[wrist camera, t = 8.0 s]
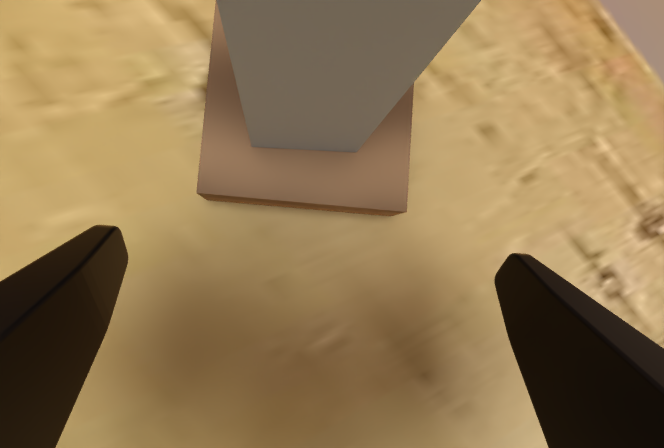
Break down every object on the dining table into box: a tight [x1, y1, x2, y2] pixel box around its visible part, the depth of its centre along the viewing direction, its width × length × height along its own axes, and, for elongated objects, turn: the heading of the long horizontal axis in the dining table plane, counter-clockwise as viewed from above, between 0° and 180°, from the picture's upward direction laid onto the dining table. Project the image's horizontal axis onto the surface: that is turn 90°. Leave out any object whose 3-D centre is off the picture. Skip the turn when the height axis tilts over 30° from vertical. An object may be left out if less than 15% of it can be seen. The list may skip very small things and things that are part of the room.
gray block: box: [216, 0, 481, 152], centre depth 11 cm, size 5×5×12 cm
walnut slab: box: [197, 1, 414, 216], centre depth 18 cm, size 10×10×3 cm
